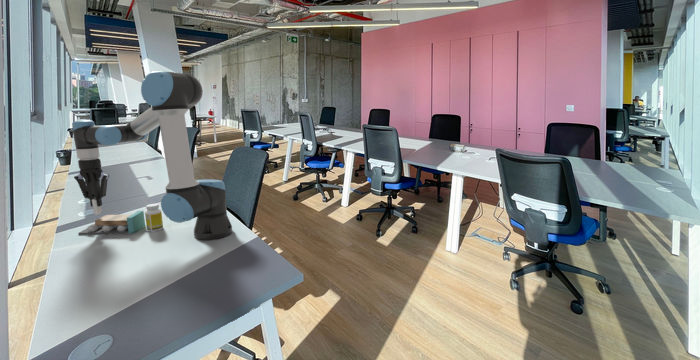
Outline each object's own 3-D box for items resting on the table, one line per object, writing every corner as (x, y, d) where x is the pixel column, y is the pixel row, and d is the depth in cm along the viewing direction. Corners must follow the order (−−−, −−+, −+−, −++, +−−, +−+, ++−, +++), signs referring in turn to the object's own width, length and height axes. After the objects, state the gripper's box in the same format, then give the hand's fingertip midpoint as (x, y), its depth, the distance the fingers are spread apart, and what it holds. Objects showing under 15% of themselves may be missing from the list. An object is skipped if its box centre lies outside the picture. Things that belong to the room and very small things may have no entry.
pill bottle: (165, 227, 160) (163, 202, 157) (159, 231, 154) (156, 207, 151) (151, 227, 160) (148, 203, 157) (144, 232, 153) (141, 207, 151)
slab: (137, 218, 159) (136, 214, 159) (127, 224, 151) (127, 220, 151) (106, 219, 158) (106, 214, 158) (95, 225, 150) (94, 220, 150)
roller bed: (145, 225, 161) (143, 210, 160) (133, 233, 151) (131, 217, 150) (93, 226, 159) (91, 211, 158) (78, 234, 150) (75, 218, 148)
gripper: (110, 157, 152) (118, 210, 157) (78, 157, 152) (87, 211, 156) (100, 159, 145) (108, 215, 150) (66, 160, 144) (75, 216, 149)
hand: (97, 213), depth 153 cm, fingers closed
